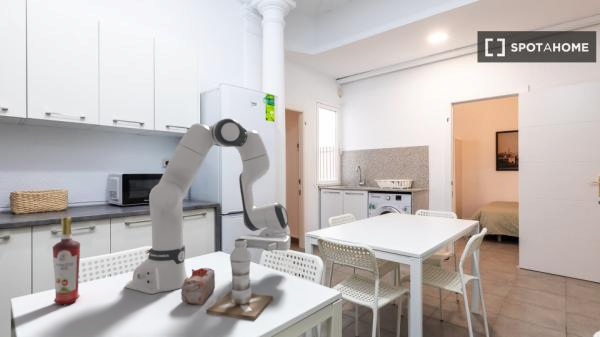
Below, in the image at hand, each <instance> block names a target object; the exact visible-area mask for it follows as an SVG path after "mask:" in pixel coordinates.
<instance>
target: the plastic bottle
mask: <svg viewBox="0 0 600 337" xmlns="http://www.w3.org/2000/svg"><path fill="white" fill-rule="evenodd" d="M233 246H234V248H233V250H232V251H231V253H230V256H229V261H230V267H231V289H230V291H231V294H230V296H231V301H232V302H233V303H234V304H238V305H242V304H246V303H248V302H249V301H250V300H251V296H252V294H253V293H252V287H251V280H250V270H251V269H250V268H251V260H252V259H251V258H252V255H251V253H250V250H248V249H249V248H246V246H247V244H246V239H238V238H237V239H234V244H233Z"/></svg>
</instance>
